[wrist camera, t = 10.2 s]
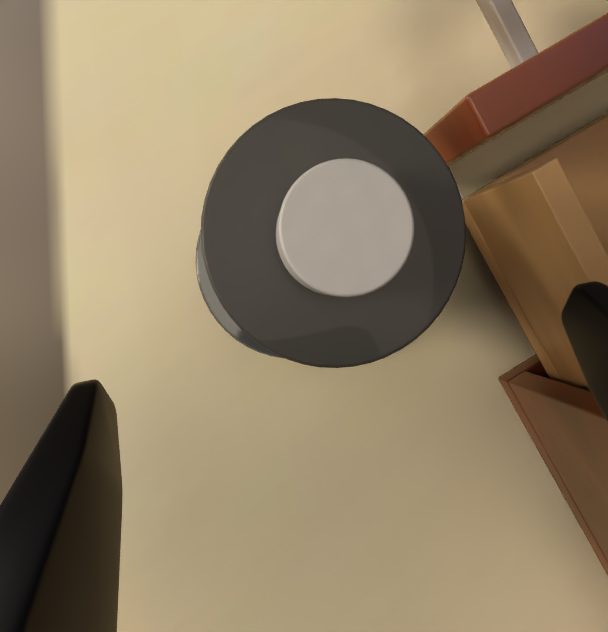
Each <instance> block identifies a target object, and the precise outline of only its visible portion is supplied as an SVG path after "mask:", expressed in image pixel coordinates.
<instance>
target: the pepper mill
mask: <svg viewBox="0 0 608 632" xmlns="http://www.w3.org/2000/svg"><path fill="white" fill-rule="evenodd" d="M465 240H466V228H465V215H464V210H463V204H462V200H461V196H460V193H459V190H458V187H457V184H456V182H455V180H454V177H453V175H452V173H451V171H450V169H449V167H448V165H447V164H446V162H445V161H444V159H443V158H442V156H441V154H440V153H439V152H438V151H437V149H436V148H435V147H434V146H433V145H432V143H431V142H430V141H429V140H428V139H427V138H426V137H425V136H424V135H423V134H422V133H421V132H420V131H419V130H417V129H416V128H415V127H414V126H412V125H411V124H409V123H408V122H407V121H405V120H404V119H402V118H401V117H399V116H397V115H395V114H393V113H391V112H389V111H388V110H385V109H383V108H380V107H377V106H375V105H372V104H369V103H364V102H360V101H356V100H349V99H338V98H331V99H316V100H310V101H305V102H300V103H297V104H294V105H291V106H288V107H285V108H282V109H280V110H278V111H276V112H274V113H272V114H270V115H268V116H266V117H265V118H263V119H262V120H260V121H259V122H257V123H256V124H254V125H253V126H252V127H251V128H249V129H248V130H247V131H246V132H245V133H244V134H243V135H242V136H240V137H239V138H238V140H237V141H236V142H235V143H234V144H233V145H232V147H231V148H230V149H229V150H228V151H227V153H226V154H225V156H224V157H223V159H222V161H221V162H220V164H219V165H218V167H217V169H216V171H215V173H214V175H213V177H212V180H211V182H210V185H209V188H208V191H207V194H206V197H205V201H204V206H203V212H202V218H201V244H202V254H203V259H204V263H205V268H206V272H207V274H208V277H209V280H210V283H211V285H212V288H213V290H214V292H215V294H216V296H217V298H218V299H219V301H220V303H221V305H222V306H223V308H224V309H225V310H226V312H227V313H228V315H229V316H230V318H231V319H232V320H233V321H234V322H235V323H236V324H237V325H238V326H239V328H240V329H241V330H242V331H243V332H244V333H246V334H247V335H248V336H249V337H250V338H252V339H253V340H254V341H255V342H256V343H258V344H260V345H261V346H263V347H264V348H266V349H267V350H269V351H271V352H273V353H275V354H277V355H279V356H281V357H283V358H285V359H288V360H291V361H294V362H298V363H301V364H304V365H310V366H316V367H327V368H342V367H353V366H358V365H363V364H367V363H371V362H374V361H377V360H379V359H382V358H385V357H387V356H389V355H391V354H393V353H395V352H397V351H399V350H401V349H402V348H404V347H405V346H407V345H408V344H410V343H411V342H412V341H414V340H415V339H417V338H418V337H419V336H420V335H421V334H422V333H423V332H424V331H425V330H426V329H427V328H428V327H429V326H430V325H431V324H432V323H433V322H434V320H435V319H436V318H437V317H438V316H439V314H440V313H441V311H442V310H443V308H444V307H445V305H446V304H447V302H448V301H449V298H450V296H451V294H452V292H453V290H454V288H455V286H456V283H457V280H458V277H459V274H460V271H461V268H462V263H463V258H464V253H465Z"/></svg>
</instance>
